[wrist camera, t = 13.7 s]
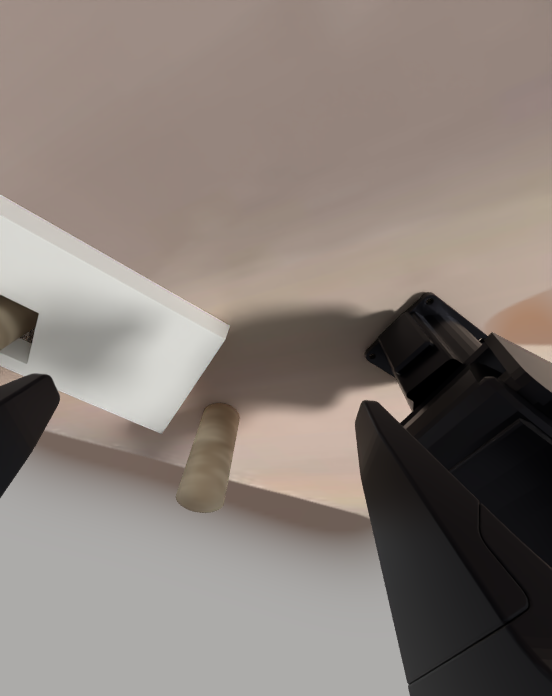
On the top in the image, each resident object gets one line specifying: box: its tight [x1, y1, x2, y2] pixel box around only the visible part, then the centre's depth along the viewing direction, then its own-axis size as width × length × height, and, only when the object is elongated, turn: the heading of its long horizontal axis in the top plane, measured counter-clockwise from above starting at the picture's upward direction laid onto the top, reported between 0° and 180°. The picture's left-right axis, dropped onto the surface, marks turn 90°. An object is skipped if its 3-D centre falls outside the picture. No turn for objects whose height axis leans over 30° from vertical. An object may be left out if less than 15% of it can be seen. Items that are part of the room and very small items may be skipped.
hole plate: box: [0, 194, 230, 434], centre depth 22 cm, size 18×12×2 cm, turn 56°
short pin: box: [176, 403, 240, 513], centre depth 24 cm, size 3×3×8 cm
